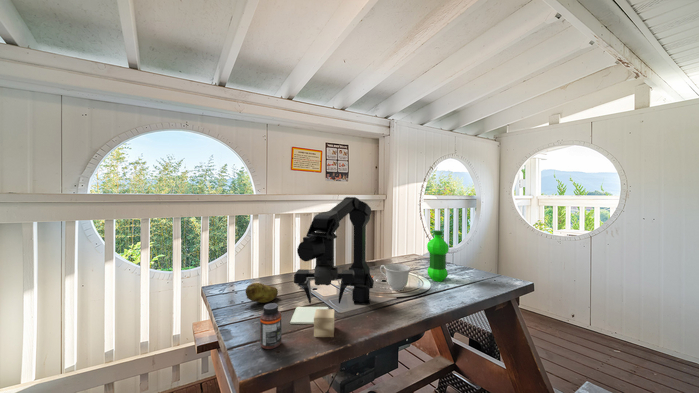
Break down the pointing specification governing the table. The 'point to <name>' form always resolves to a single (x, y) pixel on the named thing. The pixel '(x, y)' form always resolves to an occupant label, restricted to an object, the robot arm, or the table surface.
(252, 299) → the potato
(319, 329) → the cube
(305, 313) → the mat
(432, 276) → the plastic bottle
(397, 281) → the teacup
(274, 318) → the supplement bottle
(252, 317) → the table surface
